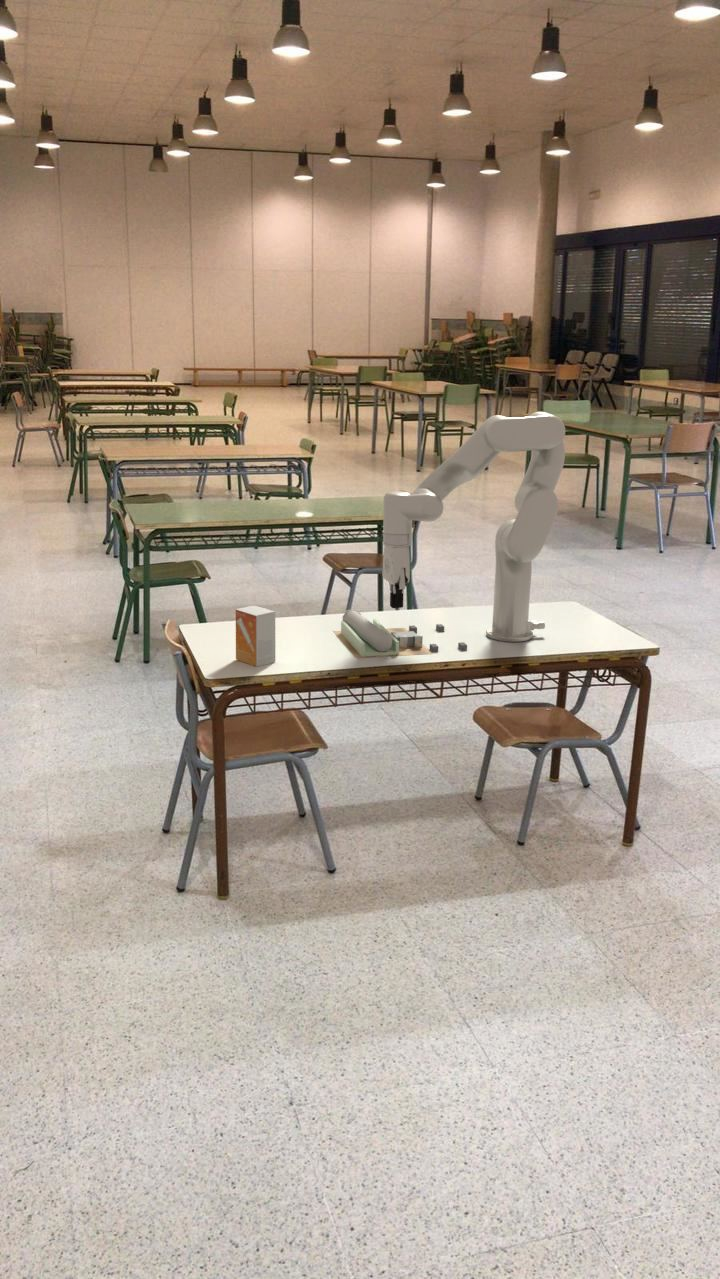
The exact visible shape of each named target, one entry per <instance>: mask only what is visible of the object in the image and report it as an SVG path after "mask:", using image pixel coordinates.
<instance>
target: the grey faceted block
mask: <svg viewBox="0 0 720 1279" xmlns="http://www.w3.org/2000/svg"><path fill="white" fill-rule="evenodd" d="M391 634H392V635H393V636H394V637H395V638H396V639H397V640H398V636H402V635H406V636H407V637H408V641H407V646H413V635H418V634H417V633H415V632H414V631H409V630H408V632H391Z"/></svg>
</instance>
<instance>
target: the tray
mask: <svg viewBox="0 0 720 1279" xmlns="http://www.w3.org/2000/svg"><path fill="white" fill-rule="evenodd" d="M372 624H374V625H375V626H377V627H378V628H379V629H381V630H382V631H383V632H385V633H386V634H388V635H389V636H390V637H392V646H391V648H390V649H389V650H388V651H387V652H379V651H378V650H377V649H375V648H374V647H373V646H371V645H370V644H369V643H367V642H366V641H365V640H364V639H362V638H361V637H360V636H358V635H357V634H356V633H355V632H354V631H353V630H352V629H351V628H350V627H349V626H348V624H347V623H346V622H345V621H343V620H341V622H340V631H341V633H342V635H343V636H344V637H345V638H346V639H347V640H348V641H349V643H350V644H351V645H352V646H353V647H354V648H355V649H356V651H357V652H358V653H359V654H360V655H361V656H362V657H363V656H381V655H399V641H398V640H397V639H396V638H395V637H394V636H393V635H392V634H391V633H390V632H389V631H388V630H387V629H388V628H386V627H385V626H384V625H382V623H381V622H379V621H378V619H372Z"/></svg>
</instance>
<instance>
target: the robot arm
mask: <svg viewBox="0 0 720 1279" xmlns="http://www.w3.org/2000/svg"><path fill="white" fill-rule="evenodd" d="M565 436H566V426H565V424H564V422H563V420H561V418H560V417H558V416H556V415H554V414H551V413H548V412H546V411H535V412H532V413H531V414H529V415H528V416H524V417H523V416H522V417H507V416H504V415H501V414H500V415H499V414H496V415H492V416H489V417H488V418H486V420H485V421H483V422H482V424H481V425H480V426H479V427H478V428H476V430H475V431H473V433H472V434H471V435H470V436H469V437H468V438H467V439H466V441H464V443H462V445H461V446H460V447H459V448H458V449H457V450H456V451H455V452H454V453H453V454H452V455H450V456H449V457H448V458H447V459H446V460H444V461H443V462H442V463H441V464H440V465H439V466H437V467H436V468H435V469H434V470H432V472H430V474H429V475H428V476H426V478H425V479H424V480H423V481H422V482H421V483H420V484H419V485H418V486H417V487H416V488H415V489H414V491H413V492H412V493H410V492H407V491H400V490H399V491H397V490H395V491H388V492H386V493H385V494H384V496H383V512H382V513H383V521H382V522H383V524H382V525H383V526H382V527H383V528H382V529H383V530H382V532H383V535H382V536H383V538H382V545H383V546H384V547H383V555H382V556H383V558H382V571H381V572H382V578H383V579H384V580H386V581H387V582H388V583H389V591H390V592H389V606H390V607H391V608H392V609H401V608H404V591H405V589H406V584H408V583H410V580H411V579H410V577H411V574H410V573H411V567H410V565H411V558H410V554H411V553H410V547H411V546H412V544H413V521H416V522H417V521H418V522H425V523H426V522H435V521H436V520H438V519H439V518H440V517H441V516H442V514H443V512H444V503H443V501H444V500H445V499H446V497H448V496H449V495H450V494H451V493H452V492H453V491H454V490H455V489H456V488H459V487H460V486H461V485H463V484H465V483H468V482H471V481H472V480H474V479H476V478H477V477H478V476H479V475H480V474H481V473H482V472H483V471H484V470H485V469H486V468H487V467H488V466H489V465H490V464H491V463H492V462H493V460H495V458H497V456H499V455H500V453H503V452H504V453H505V452H506V453H510V452H529V451H531V458H530V461H529V464H528V466H527V469H526V472H525V474H524V477H523V479H522V480H521V484H520V486H519V488H518V490H517V492H516V494H515V497H514V507H515V509H516V510H517V512H518V513H517V515H516V517H515V519H514V518H513V519H508V520H507V521H506V520H505V521H504V522H503V523H502V524H501V525H500V526H499V527H498V529H497V531H496V535H495V541H494V544H495V547H494V548H495V549H494V550H495V574H494V591H493V592H494V593H493V607H492V608H493V609H492V610H493V611H492V623H491V625H492V626H491V627H489V628H487V629H486V630H485V631H486V632H485V635H486V636H487V637H488V638H490V639H492V640H497V641H500V642H513V643H516V642H526V641H530V640H531V639H533V637H534V633H533V631H534V630H536V629H537V630H545V628H546V623H545V622H544V621H537V620H531V619H529V612H530V602H531V601H530V600H531V599H530V597H531V584H532V582H531V581H532V561H533V560H535V559H536V558H537V557H538V555H539V554H540V553H541V551H542V549H543V548H544V545H545V544H546V541H547V539H548V537H549V533H550V532H551V529H552V527H553V525H554V523H555V522H556V521H555V520H556V518H557V515H558V511H559V499H558V495H556V493H555V490H556V487H557V484H558V481H559V478H560V477H561V474H562V471H563V468H564V464H565V461H566V460H565V459H566V458H565V457H566V450H565V444H564V443H565V442H564V439H565Z"/></svg>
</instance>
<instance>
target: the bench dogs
mask: <svg viewBox="0 0 720 1279" xmlns="http://www.w3.org/2000/svg"><path fill="white" fill-rule="evenodd" d="M423 637H424V636H423V635H422V634H417V635H413V647H414V648H420V647H422V644H423V639H424V638H423ZM398 641H399V648H400V649H402V648H407V641H408V637H407V636H406V635H402V636H398Z"/></svg>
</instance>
